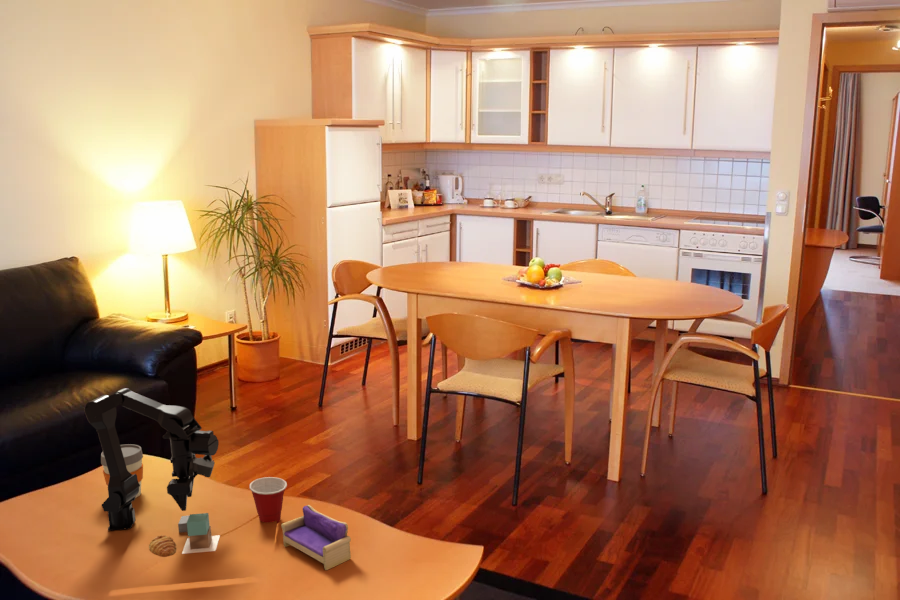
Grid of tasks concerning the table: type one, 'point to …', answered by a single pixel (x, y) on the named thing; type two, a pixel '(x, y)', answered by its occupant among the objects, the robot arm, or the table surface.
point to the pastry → (162, 546)
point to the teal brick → (198, 524)
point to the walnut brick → (201, 540)
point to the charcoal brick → (183, 524)
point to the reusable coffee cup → (128, 462)
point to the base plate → (212, 548)
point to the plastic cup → (268, 497)
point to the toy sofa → (318, 537)
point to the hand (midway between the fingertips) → (186, 503)
